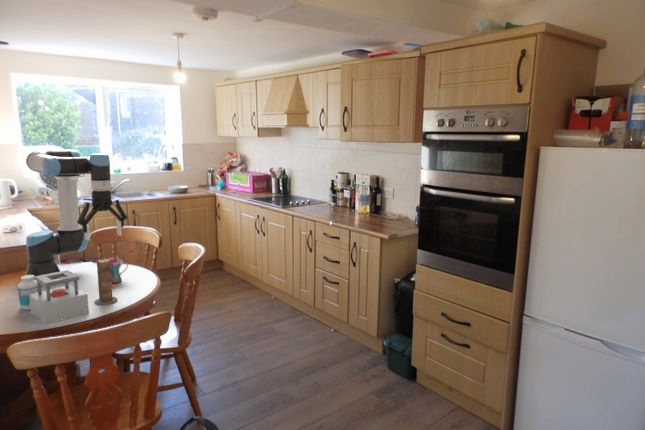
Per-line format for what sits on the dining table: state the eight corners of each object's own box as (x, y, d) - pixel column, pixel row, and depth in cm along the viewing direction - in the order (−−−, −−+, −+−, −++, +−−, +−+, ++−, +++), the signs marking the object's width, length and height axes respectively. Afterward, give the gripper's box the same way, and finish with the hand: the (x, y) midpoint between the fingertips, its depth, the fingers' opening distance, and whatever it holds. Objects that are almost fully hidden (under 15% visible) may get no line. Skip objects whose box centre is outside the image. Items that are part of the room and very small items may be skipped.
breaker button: (51, 309, 175) (50, 290, 174) (63, 306, 178) (62, 288, 177) (55, 312, 172) (54, 293, 171) (67, 309, 176) (66, 290, 174)
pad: (91, 301, 188) (91, 300, 188) (111, 296, 195) (111, 295, 195) (99, 307, 182) (99, 305, 182) (121, 301, 189) (121, 300, 189)
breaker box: (30, 312, 174) (27, 276, 172) (73, 302, 187) (70, 268, 184) (44, 324, 164) (41, 285, 162) (88, 312, 176) (86, 276, 174)
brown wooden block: (99, 300, 188) (96, 260, 185) (108, 298, 191) (106, 259, 188) (103, 302, 185) (100, 262, 182) (112, 300, 188) (110, 260, 185)
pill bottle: (26, 303, 184) (23, 273, 181) (45, 303, 184) (42, 273, 182) (16, 310, 176) (12, 279, 174) (35, 310, 177) (32, 279, 175)
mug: (102, 285, 208) (100, 264, 206) (102, 280, 216) (100, 259, 214) (129, 282, 214) (128, 262, 212) (128, 277, 222) (127, 257, 220)
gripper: (73, 193, 174) (76, 243, 178) (133, 188, 193) (135, 234, 197) (66, 190, 179) (69, 240, 183) (125, 186, 197) (127, 231, 201)
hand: (103, 237), depth 190 cm, fingers open, 13 cm apart
